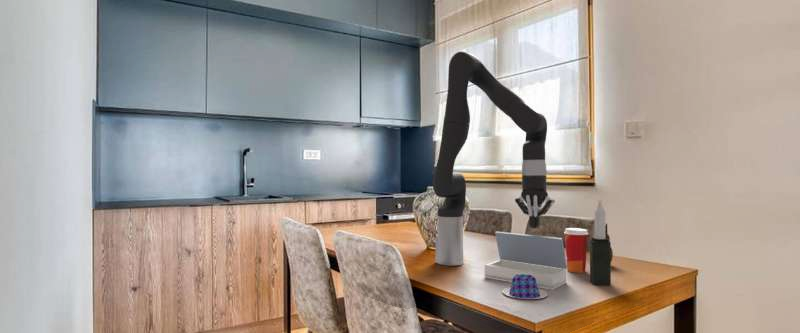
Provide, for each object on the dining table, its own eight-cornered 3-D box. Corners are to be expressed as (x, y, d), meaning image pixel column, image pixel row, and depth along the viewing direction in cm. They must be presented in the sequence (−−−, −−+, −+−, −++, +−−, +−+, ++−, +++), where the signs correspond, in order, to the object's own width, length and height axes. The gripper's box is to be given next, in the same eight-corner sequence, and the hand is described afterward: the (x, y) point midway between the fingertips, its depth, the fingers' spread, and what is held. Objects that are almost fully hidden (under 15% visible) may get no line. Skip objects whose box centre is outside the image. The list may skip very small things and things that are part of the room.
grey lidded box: (484, 277, 141) (484, 264, 141) (500, 271, 148) (500, 259, 148) (552, 289, 126) (552, 275, 126) (566, 282, 134) (566, 269, 134)
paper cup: (577, 267, 154) (577, 227, 154) (594, 272, 146) (593, 230, 146) (558, 269, 151) (558, 228, 151) (574, 274, 144) (574, 231, 144)
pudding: (540, 289, 128) (539, 271, 128) (553, 301, 116) (553, 281, 116) (498, 289, 128) (498, 271, 128) (507, 301, 116) (507, 281, 116)
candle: (611, 285, 130) (611, 200, 130) (593, 285, 131) (592, 200, 131) (607, 281, 135) (606, 199, 135) (589, 280, 136) (588, 199, 136)
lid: (494, 232, 146) (496, 231, 146) (500, 259, 148) (501, 258, 149) (561, 239, 131) (562, 238, 132) (566, 269, 134) (566, 267, 134)
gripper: (509, 174, 144) (510, 227, 144) (549, 174, 136) (550, 231, 136) (520, 174, 150) (520, 225, 150) (558, 174, 141) (559, 228, 141)
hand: (534, 228), depth 143 cm, fingers closed
